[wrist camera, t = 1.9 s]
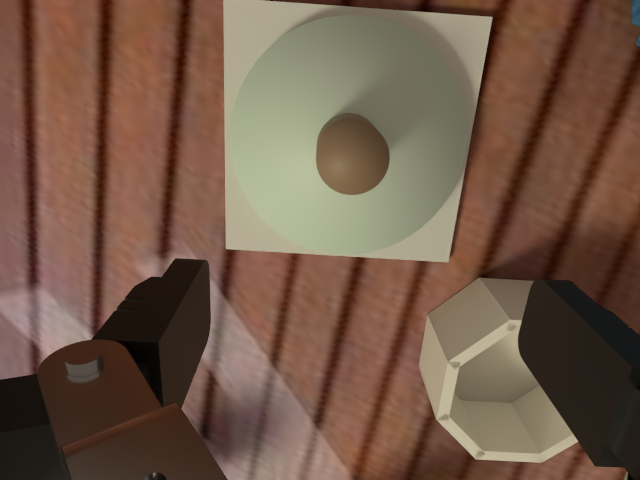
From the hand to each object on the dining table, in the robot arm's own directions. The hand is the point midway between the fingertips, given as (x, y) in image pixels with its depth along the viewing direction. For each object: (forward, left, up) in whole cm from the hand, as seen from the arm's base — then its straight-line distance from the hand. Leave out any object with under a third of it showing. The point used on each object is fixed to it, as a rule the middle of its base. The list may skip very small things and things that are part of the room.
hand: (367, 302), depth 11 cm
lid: (-1, -1, -20) cm, 20 cm away
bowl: (-14, +14, -21) cm, 29 cm away
